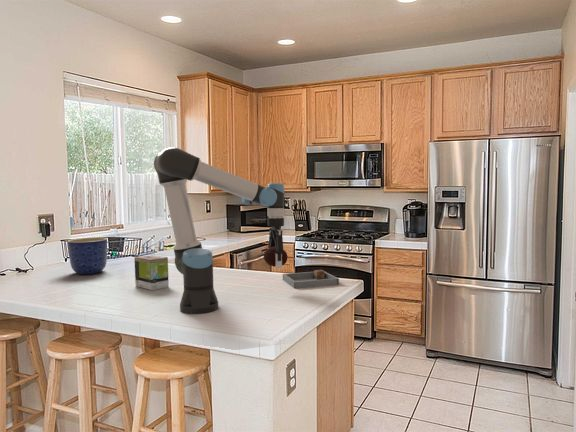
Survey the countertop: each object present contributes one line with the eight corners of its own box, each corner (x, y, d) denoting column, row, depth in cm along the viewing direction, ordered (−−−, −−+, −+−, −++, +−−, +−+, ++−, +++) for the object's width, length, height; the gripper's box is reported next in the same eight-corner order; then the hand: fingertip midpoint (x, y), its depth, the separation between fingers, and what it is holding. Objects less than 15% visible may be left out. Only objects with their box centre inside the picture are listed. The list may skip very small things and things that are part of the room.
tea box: (169, 287, 227) (168, 256, 225) (151, 291, 219) (149, 259, 218) (153, 282, 237) (151, 253, 236) (134, 286, 230) (133, 256, 228)
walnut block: (316, 279, 234) (316, 271, 233) (314, 278, 238) (314, 270, 237) (324, 279, 235) (324, 271, 235) (321, 277, 239) (321, 269, 238)
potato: (282, 269, 207) (282, 248, 206) (259, 267, 213) (259, 246, 212) (291, 266, 215) (291, 246, 214) (269, 264, 220) (269, 244, 220)
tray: (294, 289, 216) (294, 282, 216) (282, 280, 235) (282, 274, 235) (338, 285, 222) (338, 278, 222) (323, 277, 241) (323, 270, 241)
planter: (95, 268, 280) (93, 236, 278) (116, 271, 268) (114, 238, 266) (61, 274, 263) (60, 240, 262) (82, 278, 251) (80, 243, 250)
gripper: (290, 219, 202) (290, 270, 204) (277, 215, 224) (277, 261, 226) (274, 219, 200) (273, 270, 202) (261, 215, 222) (261, 262, 223)
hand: (275, 265), depth 214 cm, fingers closed on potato, 10 cm apart
